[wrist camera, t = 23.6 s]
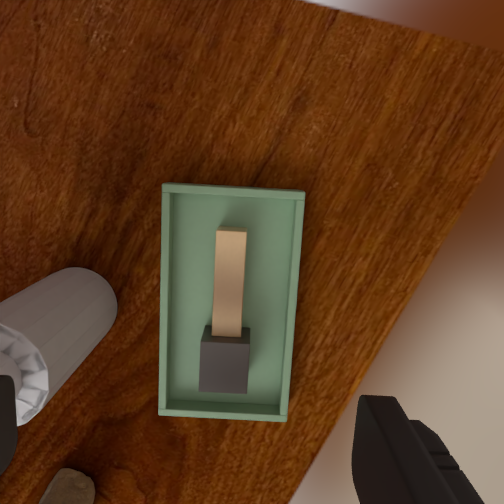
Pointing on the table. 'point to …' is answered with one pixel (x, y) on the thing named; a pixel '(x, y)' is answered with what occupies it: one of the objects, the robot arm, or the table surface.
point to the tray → (254, 299)
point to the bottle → (52, 333)
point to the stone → (69, 488)
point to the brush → (226, 319)
